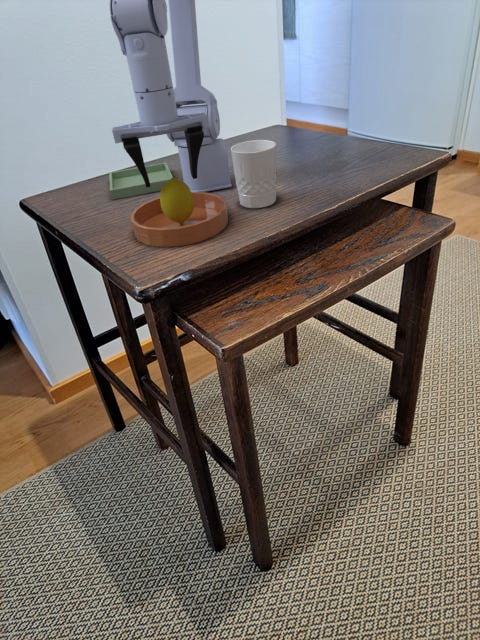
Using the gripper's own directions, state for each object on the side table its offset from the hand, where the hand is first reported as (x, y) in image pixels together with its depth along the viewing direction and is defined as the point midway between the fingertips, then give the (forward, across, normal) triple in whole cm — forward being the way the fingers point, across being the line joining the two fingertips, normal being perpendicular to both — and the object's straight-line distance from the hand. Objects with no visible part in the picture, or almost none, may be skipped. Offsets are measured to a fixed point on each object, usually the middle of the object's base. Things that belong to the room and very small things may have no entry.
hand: (171, 181), depth 73 cm
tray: (+8, -5, +27) cm, 28 cm away
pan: (+8, 0, 0) cm, 8 cm away
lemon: (+8, 0, 0) cm, 8 cm away
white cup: (+8, +15, +4) cm, 18 cm away
